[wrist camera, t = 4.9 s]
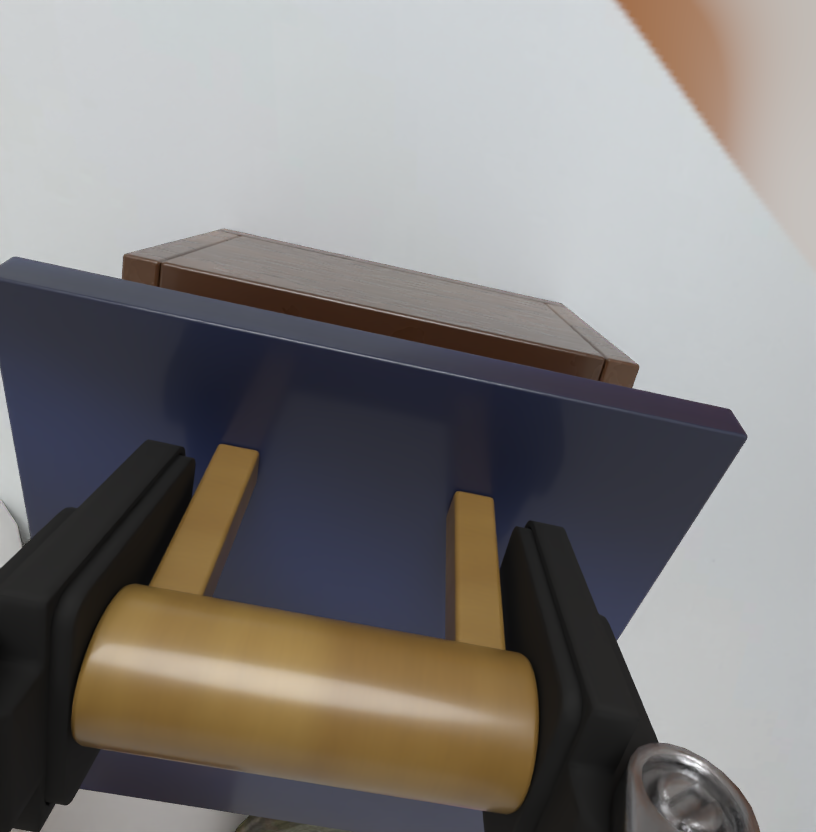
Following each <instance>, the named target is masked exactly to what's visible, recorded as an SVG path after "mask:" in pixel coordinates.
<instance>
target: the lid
mask: <svg viewBox="0 0 816 832" xmlns="http://www.w3.org/2000/svg"><path fill="white" fill-rule="evenodd" d="M235 832H353V831H347V830H340V829H334V828H327V827H321V826H315V825H308V824H302V823H296V822H289V821H283V820H276V819H270V818H264V817H257V816H251V815H250V816H249V817H248V818H247V819H246V820H245V821H244V822H243V823H242V824H240V825H239V826H238V828H237V829H236V831H235Z"/></svg>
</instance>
